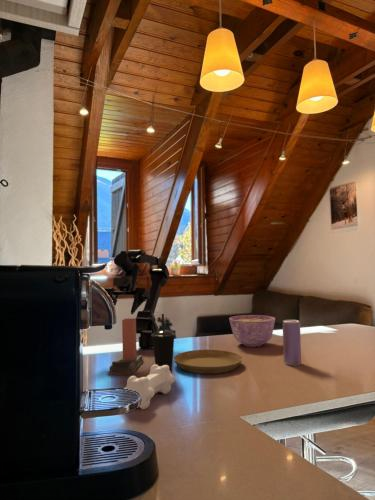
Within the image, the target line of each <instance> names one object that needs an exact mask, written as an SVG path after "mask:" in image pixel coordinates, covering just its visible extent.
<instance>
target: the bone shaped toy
mask: <svg viewBox="0 0 375 500" xmlns="http://www.w3.org/2000/svg"><path fill="white" fill-rule="evenodd" d="M175 381H176V377H175V375H174V374H173V373H171V372H170V370H169V366H168V365H163V366H158V365H157V364H155V363H154V364H153V365H151V367H150V368H149V373H148V375H146V376H141V377H137V376H136V375H130V376H129V377H128V378H127V381H126V386H125V387H124V388H123V389H128V390H132V391H136V392H138V393H139V394H141V396H142V402H141V405H140V406H139V407H138V408H140V409H141V410H146V409H147V408H148V407H149V406H150V403H151V399H152V398H153V397H154V396H155V394H157V393H162V394H164V395H167V394H169V393H170V391H171V389H172V384H174V383H175Z"/></svg>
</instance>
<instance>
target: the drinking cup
mask: <svg viewBox="0 0 375 500" xmlns="http://www.w3.org/2000/svg"><path fill="white" fill-rule="evenodd" d="M151 336H152V338H153V347H154V348H153V354H154V364H157V365H158V366H163V365H168V366H169V370H170V372H171V373H172V372H173V363H174V362H173V360H174V344H175V343H174V342H175V336H176V333H175V332H174V331H171V330H167V329H165V314H164V313H161V329H160V330H159V329H158V331H156V332H155V333H153V334H151ZM172 374H173V373H172Z"/></svg>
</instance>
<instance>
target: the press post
mask: <svg viewBox="0 0 375 500" xmlns="http://www.w3.org/2000/svg"><path fill="white" fill-rule="evenodd" d="M121 322H122V323H121V327H122V328H121V329H122V330H121V331H122V332H121V334H122V356H123V359H122V360H121V361H129V363H133V362H134V361H135V360H136V359H137V358H138V357H139V356H137V354H138V353H137V334H136V317H135V318H134V317H133V318H124V319H122V320H121Z"/></svg>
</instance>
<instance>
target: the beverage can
mask: <svg viewBox="0 0 375 500" xmlns="http://www.w3.org/2000/svg"><path fill="white" fill-rule="evenodd" d="M301 339H302V337H301V323H300V320H298V319H284V320H282V343H283V344H282V346H283V349H282V350H283V362H284V364H285V365H287V366H291V367H292V366H300V365H301V364H302V344H301V343H302V340H301Z"/></svg>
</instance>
